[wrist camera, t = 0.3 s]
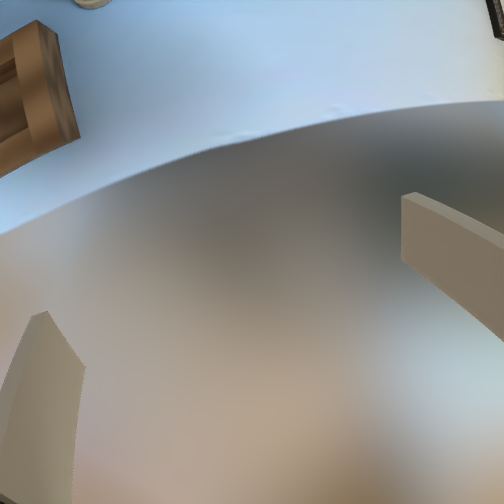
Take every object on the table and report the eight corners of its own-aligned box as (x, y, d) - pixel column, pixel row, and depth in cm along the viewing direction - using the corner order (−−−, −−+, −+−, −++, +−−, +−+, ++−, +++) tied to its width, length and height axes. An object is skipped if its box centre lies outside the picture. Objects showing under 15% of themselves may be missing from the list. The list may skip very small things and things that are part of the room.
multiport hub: (491, -2, 32) (499, -3, 30) (502, 41, 37) (509, 41, 35) (482, -8, 31) (489, -8, 29) (493, 37, 36) (501, 37, 34)
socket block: (-31, 87, 21) (-61, 86, 15) (57, 34, 23) (36, 19, 17) (-8, 182, 28) (-36, 197, 22) (80, 137, 30) (61, 142, 24)
